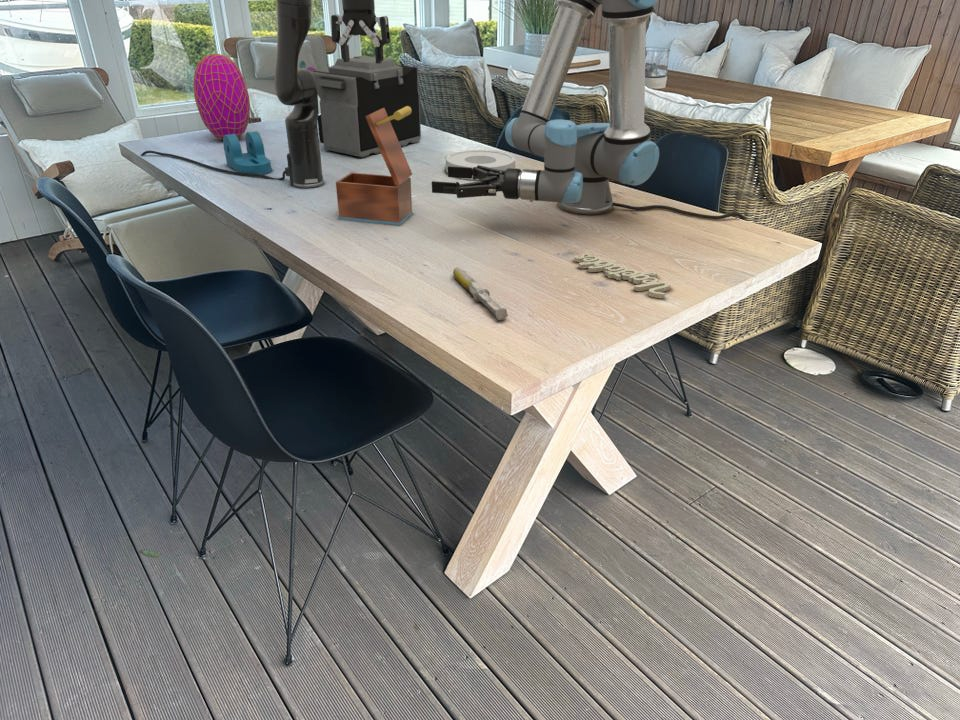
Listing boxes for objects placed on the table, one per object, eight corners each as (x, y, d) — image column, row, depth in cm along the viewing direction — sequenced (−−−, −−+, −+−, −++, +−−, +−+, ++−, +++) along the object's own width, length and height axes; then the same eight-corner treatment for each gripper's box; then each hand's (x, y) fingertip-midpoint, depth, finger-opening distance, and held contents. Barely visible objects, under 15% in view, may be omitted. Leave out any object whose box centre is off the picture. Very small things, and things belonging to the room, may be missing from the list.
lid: (365, 116, 171) (394, 104, 167) (380, 109, 179) (408, 97, 175) (395, 185, 178) (424, 175, 174) (408, 175, 186) (436, 165, 182)
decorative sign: (686, 282, 150) (660, 295, 144) (686, 286, 150) (659, 300, 144) (592, 249, 166) (565, 259, 160) (592, 253, 167) (565, 263, 161)
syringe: (449, 274, 155) (449, 263, 153) (465, 272, 156) (464, 260, 154) (490, 323, 135) (491, 310, 133) (508, 319, 136) (508, 307, 134)
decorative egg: (219, 147, 253) (203, 59, 238) (193, 139, 264) (176, 54, 249) (265, 139, 265) (252, 54, 250) (238, 131, 276) (225, 50, 261)
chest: (339, 219, 187) (335, 182, 182) (354, 208, 195) (350, 172, 190) (399, 225, 183) (397, 187, 178) (412, 213, 191) (410, 177, 186)
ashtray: (448, 160, 240) (448, 149, 238) (514, 162, 240) (514, 150, 238) (443, 179, 220) (443, 166, 218) (515, 180, 220) (515, 168, 218)
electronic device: (383, 133, 276) (378, 52, 261) (425, 141, 265) (422, 56, 250) (314, 150, 251) (304, 61, 235) (358, 160, 240) (350, 67, 224)
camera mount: (227, 164, 233) (221, 132, 227) (257, 160, 238) (252, 129, 233) (244, 176, 220) (239, 143, 215) (276, 172, 225) (271, 139, 220)
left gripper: (391, -12, 162) (395, 62, 171) (336, -14, 166) (342, 59, 174) (379, -11, 156) (383, 66, 164) (322, -13, 159) (329, 63, 168)
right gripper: (509, 215, 165) (425, 208, 170) (529, 184, 185) (454, 179, 190) (509, 184, 161) (424, 178, 166) (530, 156, 181) (453, 152, 186)
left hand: (362, 62), depth 169 cm, fingers open, 8 cm apart
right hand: (440, 179), depth 178 cm, fingers open, 13 cm apart
